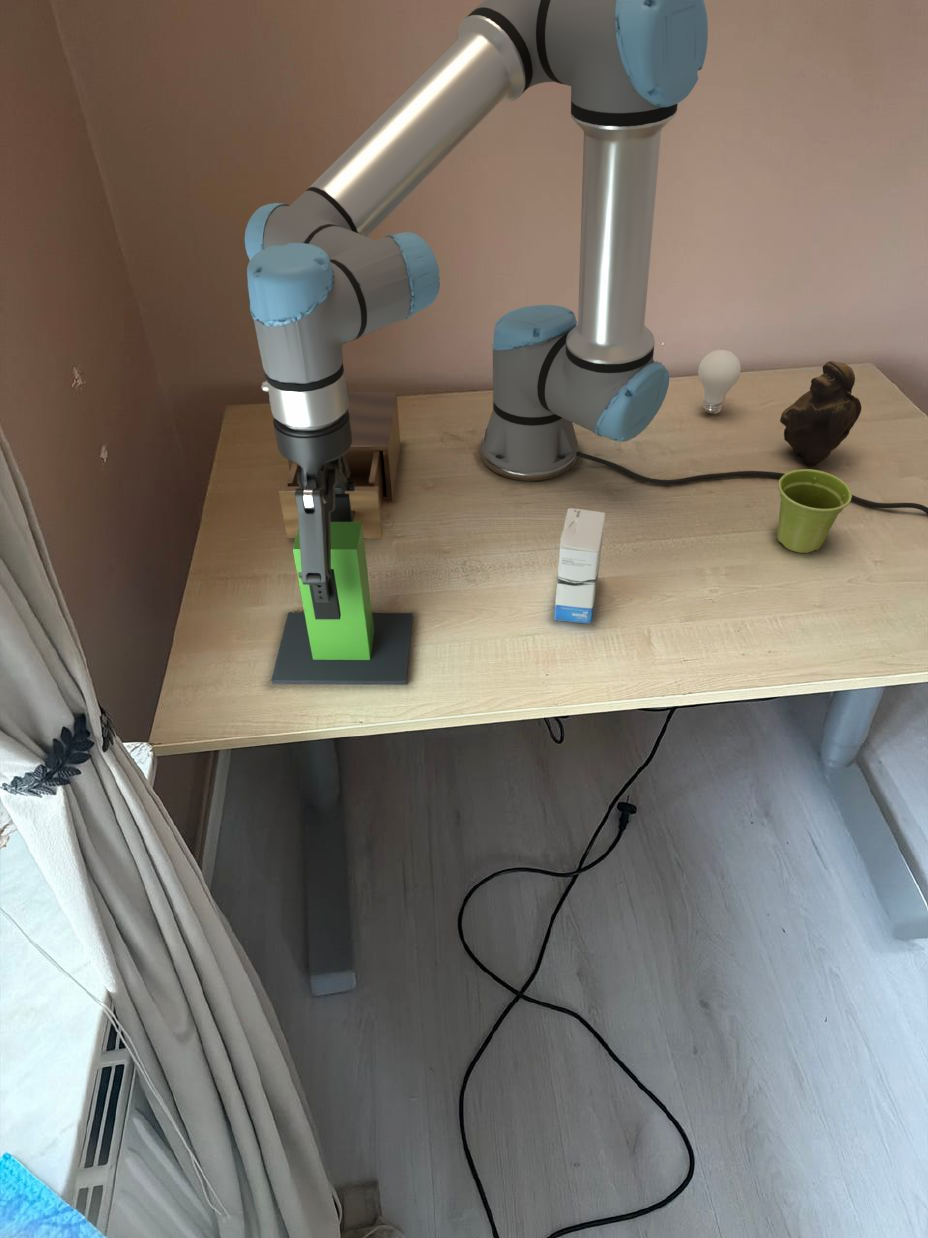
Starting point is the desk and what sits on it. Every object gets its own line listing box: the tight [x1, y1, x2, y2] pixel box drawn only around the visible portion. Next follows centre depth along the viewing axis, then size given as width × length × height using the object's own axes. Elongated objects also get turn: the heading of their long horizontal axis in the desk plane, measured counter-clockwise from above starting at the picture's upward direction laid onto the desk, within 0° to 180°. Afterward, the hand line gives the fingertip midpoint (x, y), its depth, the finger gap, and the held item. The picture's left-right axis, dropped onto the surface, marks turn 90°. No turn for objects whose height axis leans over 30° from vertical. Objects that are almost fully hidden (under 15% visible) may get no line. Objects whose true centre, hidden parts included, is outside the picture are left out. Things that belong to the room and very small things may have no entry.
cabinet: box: [287, 391, 401, 503], centre depth 136 cm, size 16×15×10 cm
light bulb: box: [697, 349, 742, 415], centre depth 147 cm, size 7×7×11 cm
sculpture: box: [779, 360, 862, 467], centre depth 135 cm, size 11×11×15 cm
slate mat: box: [270, 611, 414, 686], centre depth 110 cm, size 16×12×1 cm
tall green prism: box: [292, 522, 374, 660], centre depth 104 cm, size 7×5×17 cm
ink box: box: [553, 507, 606, 625], centre depth 112 cm, size 8×5×12 cm, turn 168°
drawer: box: [278, 451, 385, 539], centre depth 127 cm, size 19×13×8 cm
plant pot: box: [776, 468, 853, 554], centre depth 122 cm, size 9×9×9 cm
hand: (336, 577), depth 103 cm, fingers open, 13 cm apart
